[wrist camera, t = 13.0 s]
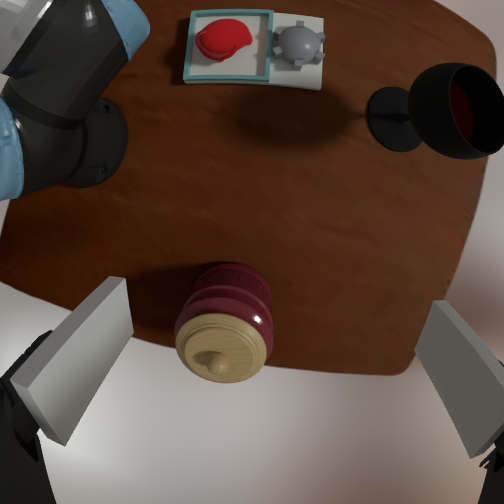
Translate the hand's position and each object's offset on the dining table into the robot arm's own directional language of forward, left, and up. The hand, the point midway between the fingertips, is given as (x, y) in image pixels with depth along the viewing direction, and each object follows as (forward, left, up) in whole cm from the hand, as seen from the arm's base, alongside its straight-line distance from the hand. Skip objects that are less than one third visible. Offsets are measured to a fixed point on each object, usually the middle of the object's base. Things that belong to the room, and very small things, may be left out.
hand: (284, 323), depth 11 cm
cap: (-8, +22, -31) cm, 39 cm away
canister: (-5, -17, -32) cm, 36 cm away
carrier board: (-4, +22, -32) cm, 39 cm away
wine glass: (+18, +14, -32) cm, 39 cm away
